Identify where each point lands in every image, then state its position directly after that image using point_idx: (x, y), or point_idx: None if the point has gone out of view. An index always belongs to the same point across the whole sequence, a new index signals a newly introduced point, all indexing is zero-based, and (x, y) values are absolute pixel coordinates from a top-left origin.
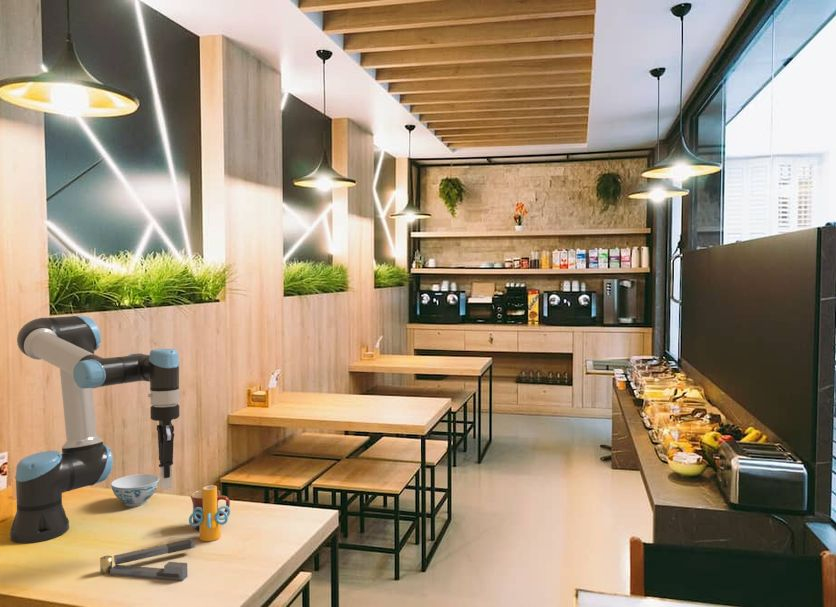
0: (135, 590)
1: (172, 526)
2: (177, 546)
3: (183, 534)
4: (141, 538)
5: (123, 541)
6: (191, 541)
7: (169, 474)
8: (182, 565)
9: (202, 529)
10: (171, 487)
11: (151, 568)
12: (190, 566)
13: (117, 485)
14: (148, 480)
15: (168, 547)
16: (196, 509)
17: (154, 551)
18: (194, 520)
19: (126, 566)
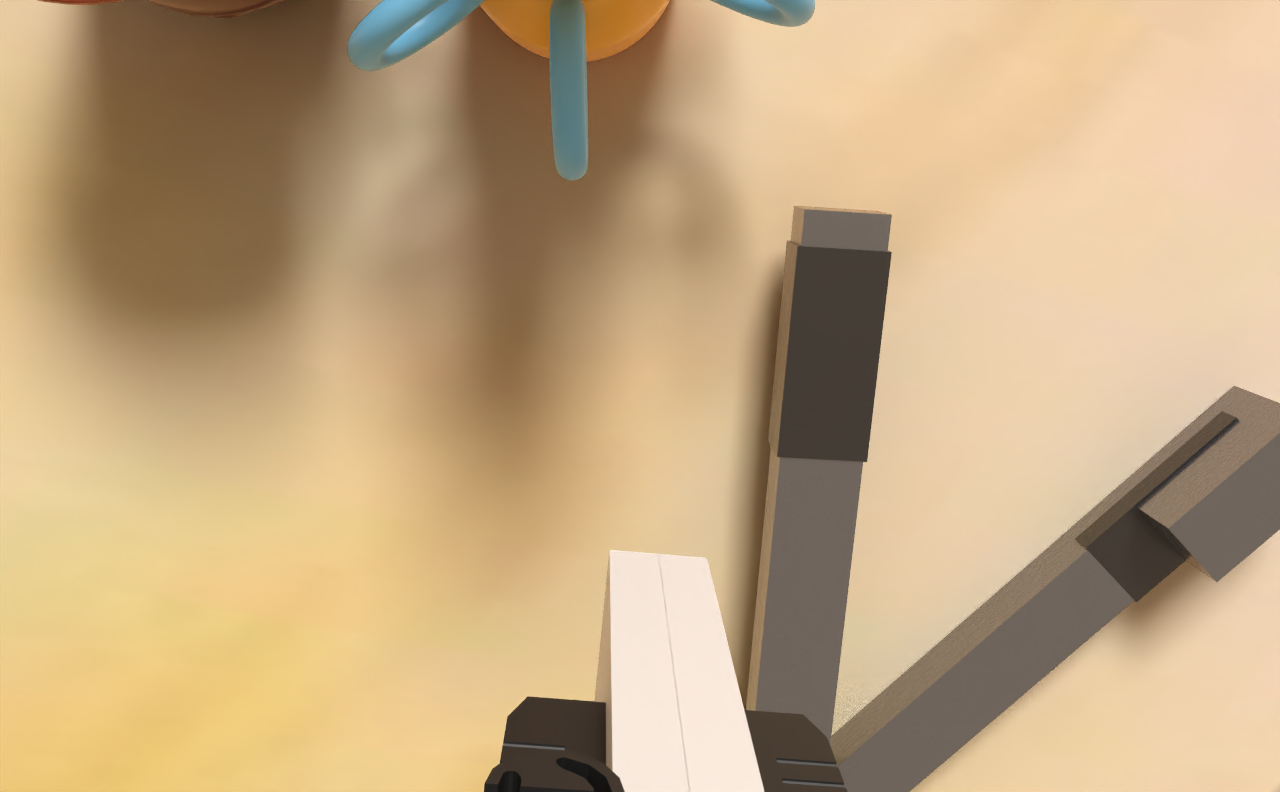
0: (1181, 734)
1: (49, 186)
2: (872, 376)
3: (331, 155)
4: (215, 504)
5: (202, 641)
6: (865, 239)
7: (834, 765)
8: None
9: (625, 41)
10: (706, 566)
11: (1032, 616)
12: (1073, 312)
13: None
14: None
15: (866, 458)
16: (406, 29)
17: (846, 569)
18: (234, 8)
19: (867, 758)
